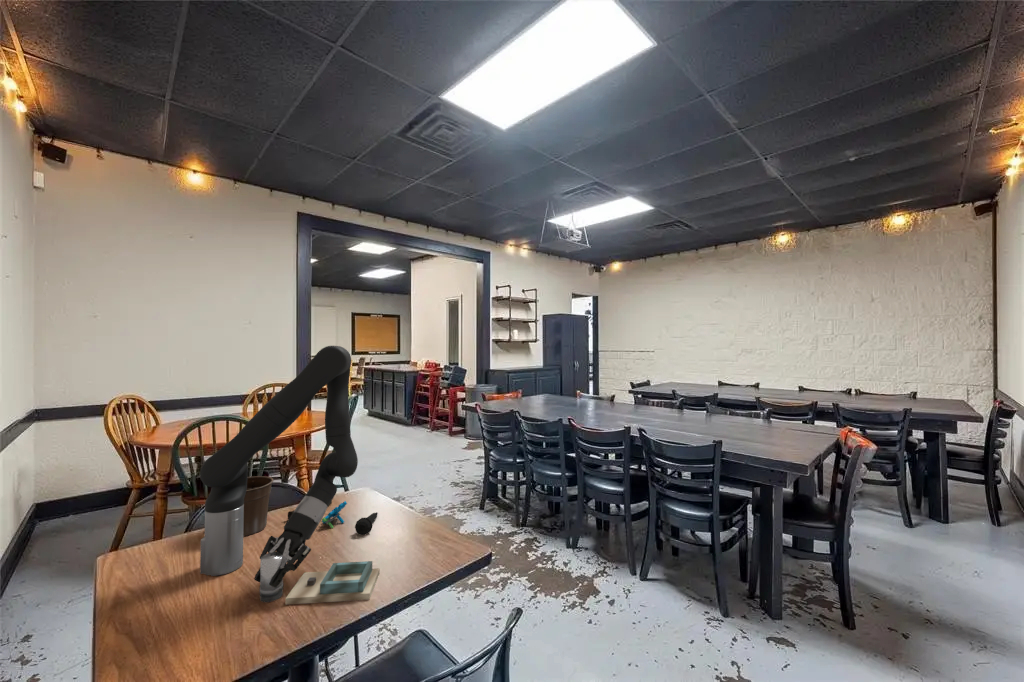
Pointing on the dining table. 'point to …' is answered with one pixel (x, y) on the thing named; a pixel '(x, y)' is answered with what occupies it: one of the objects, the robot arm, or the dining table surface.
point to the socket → (270, 577)
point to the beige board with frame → (335, 584)
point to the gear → (334, 514)
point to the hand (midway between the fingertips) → (264, 583)
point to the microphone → (365, 524)
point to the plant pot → (256, 504)
